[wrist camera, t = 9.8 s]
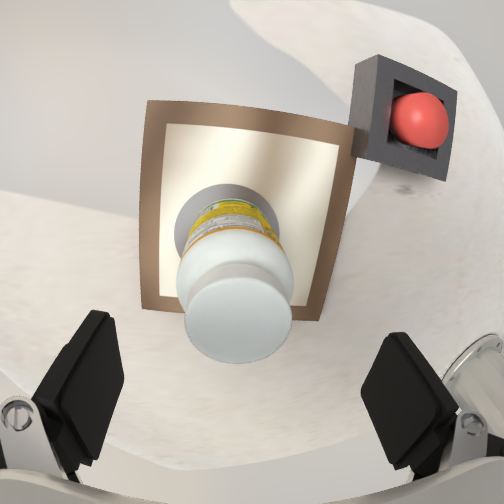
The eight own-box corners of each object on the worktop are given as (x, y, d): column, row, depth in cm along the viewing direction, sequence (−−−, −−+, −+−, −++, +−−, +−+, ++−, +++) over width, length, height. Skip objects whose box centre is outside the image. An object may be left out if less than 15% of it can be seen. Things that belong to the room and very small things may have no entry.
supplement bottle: (192, 194, 18) (162, 252, 9) (276, 200, 19) (324, 261, 10) (189, 272, 20) (170, 372, 11) (266, 276, 21) (296, 375, 12)
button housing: (429, 93, 18) (457, 91, 14) (418, 173, 20) (445, 181, 17) (355, 64, 17) (378, 54, 13) (343, 154, 19) (365, 158, 16)
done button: (429, 104, 16) (451, 103, 14) (423, 150, 17) (444, 155, 15) (389, 88, 15) (409, 84, 13) (382, 137, 17) (403, 139, 14)
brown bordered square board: (353, 128, 19) (363, 128, 17) (314, 312, 24) (319, 322, 23) (151, 102, 17) (146, 99, 15) (145, 300, 22) (140, 310, 21)
